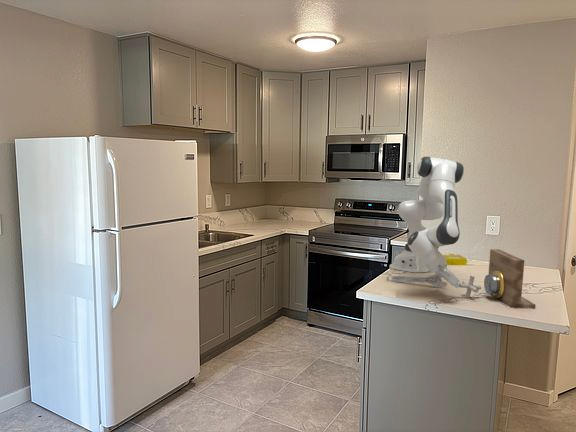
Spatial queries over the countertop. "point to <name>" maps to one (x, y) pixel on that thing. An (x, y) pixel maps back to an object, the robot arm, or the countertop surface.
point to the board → (510, 277)
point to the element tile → (455, 259)
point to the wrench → (420, 279)
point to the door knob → (495, 284)
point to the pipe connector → (470, 286)
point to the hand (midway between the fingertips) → (457, 286)
